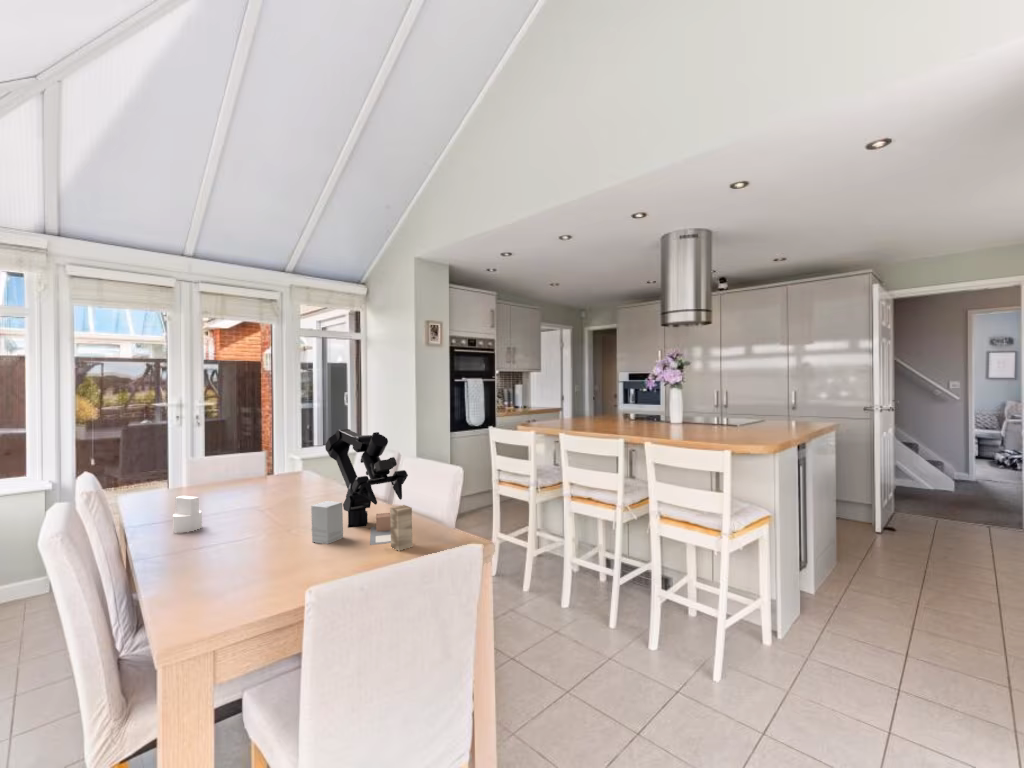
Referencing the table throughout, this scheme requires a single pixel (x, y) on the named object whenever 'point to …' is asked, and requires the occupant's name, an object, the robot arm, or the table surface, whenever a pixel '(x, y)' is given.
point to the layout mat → (379, 536)
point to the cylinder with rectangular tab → (187, 514)
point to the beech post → (401, 527)
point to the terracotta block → (383, 522)
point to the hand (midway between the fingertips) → (389, 501)
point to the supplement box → (327, 522)
